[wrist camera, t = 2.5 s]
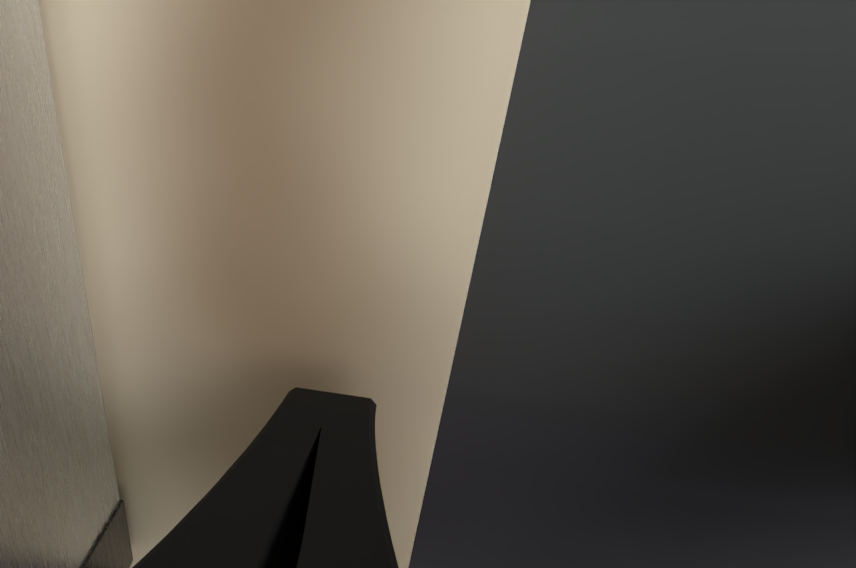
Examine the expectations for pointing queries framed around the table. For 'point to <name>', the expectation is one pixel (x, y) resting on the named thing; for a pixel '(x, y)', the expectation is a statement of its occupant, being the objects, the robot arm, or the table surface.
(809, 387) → the table surface
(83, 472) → the lever
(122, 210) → the cracker board
